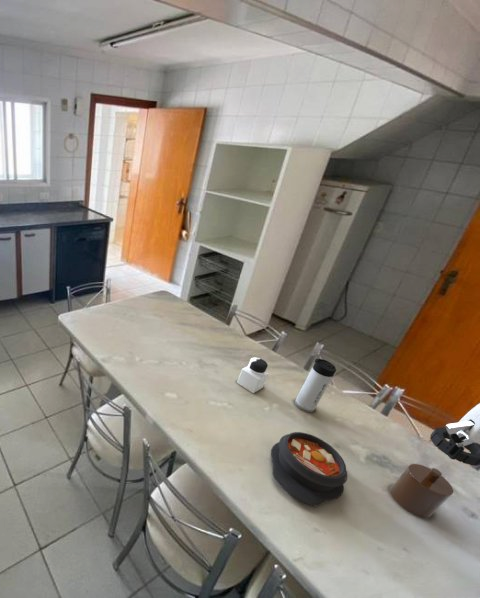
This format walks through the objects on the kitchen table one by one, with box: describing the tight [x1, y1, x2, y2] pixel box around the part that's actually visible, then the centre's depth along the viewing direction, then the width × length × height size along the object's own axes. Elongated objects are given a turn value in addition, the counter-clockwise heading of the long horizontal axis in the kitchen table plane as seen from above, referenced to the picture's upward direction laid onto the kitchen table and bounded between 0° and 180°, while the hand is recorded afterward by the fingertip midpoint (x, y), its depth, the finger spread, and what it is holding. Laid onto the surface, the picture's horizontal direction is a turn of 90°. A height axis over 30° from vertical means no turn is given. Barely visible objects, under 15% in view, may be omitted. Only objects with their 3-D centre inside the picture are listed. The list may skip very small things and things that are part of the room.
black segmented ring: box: [429, 426, 480, 467], centre depth 81 cm, size 9×9×2 cm
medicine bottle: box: [236, 357, 270, 394], centre depth 127 cm, size 7×7×12 cm
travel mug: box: [294, 358, 337, 413], centre depth 117 cm, size 6×7×20 cm
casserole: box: [270, 431, 348, 507], centre depth 95 cm, size 25×19×8 cm
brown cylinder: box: [389, 463, 454, 519], centre depth 88 cm, size 9×9×13 cm
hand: (469, 459), depth 78 cm, fingers closed on black segmented ring, 7 cm apart
